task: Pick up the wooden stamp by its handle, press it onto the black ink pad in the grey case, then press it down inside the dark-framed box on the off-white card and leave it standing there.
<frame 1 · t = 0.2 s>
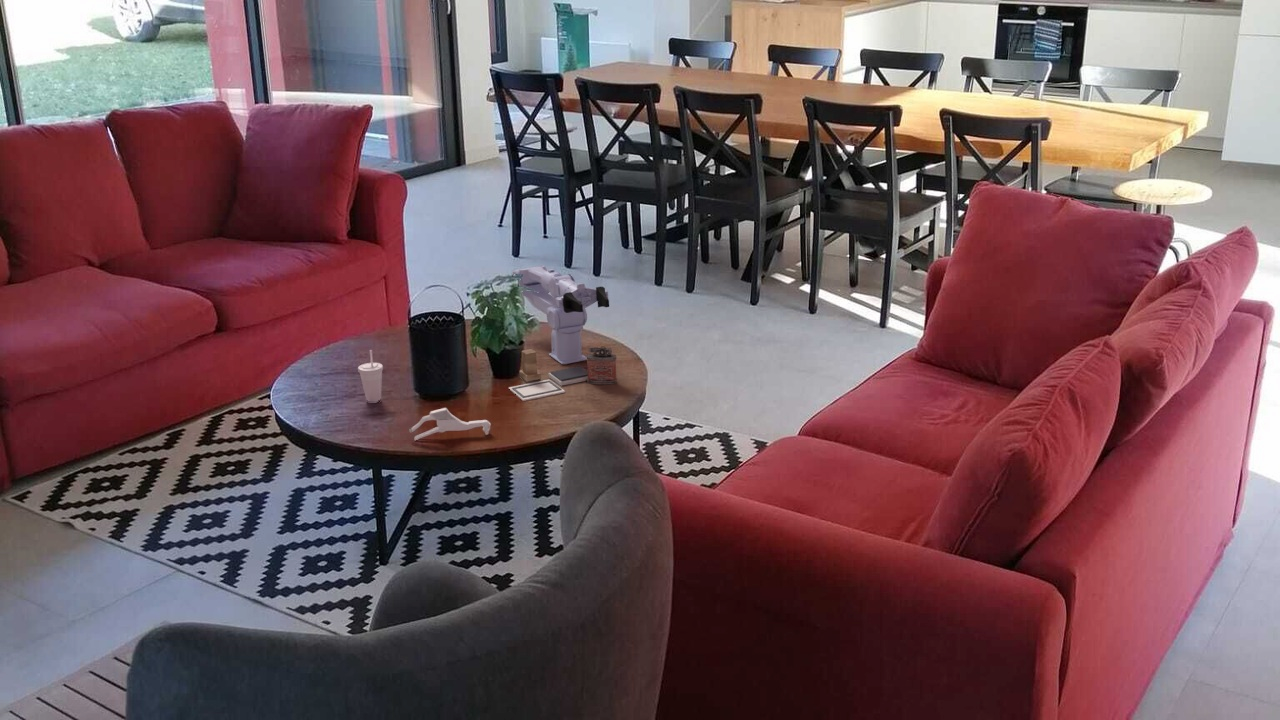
hand: (594, 305, 328), 21 cm above the table, tool horizontal, fingers open, 7 cm apart
stamp: (530, 379, 337), on the table
lighter: (602, 382, 334), on the table
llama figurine: (450, 438, 301), on the table
marked card: (536, 390, 329), on the table
smoothie: (373, 401, 324), on the table
ink pad: (571, 377, 337), on the table
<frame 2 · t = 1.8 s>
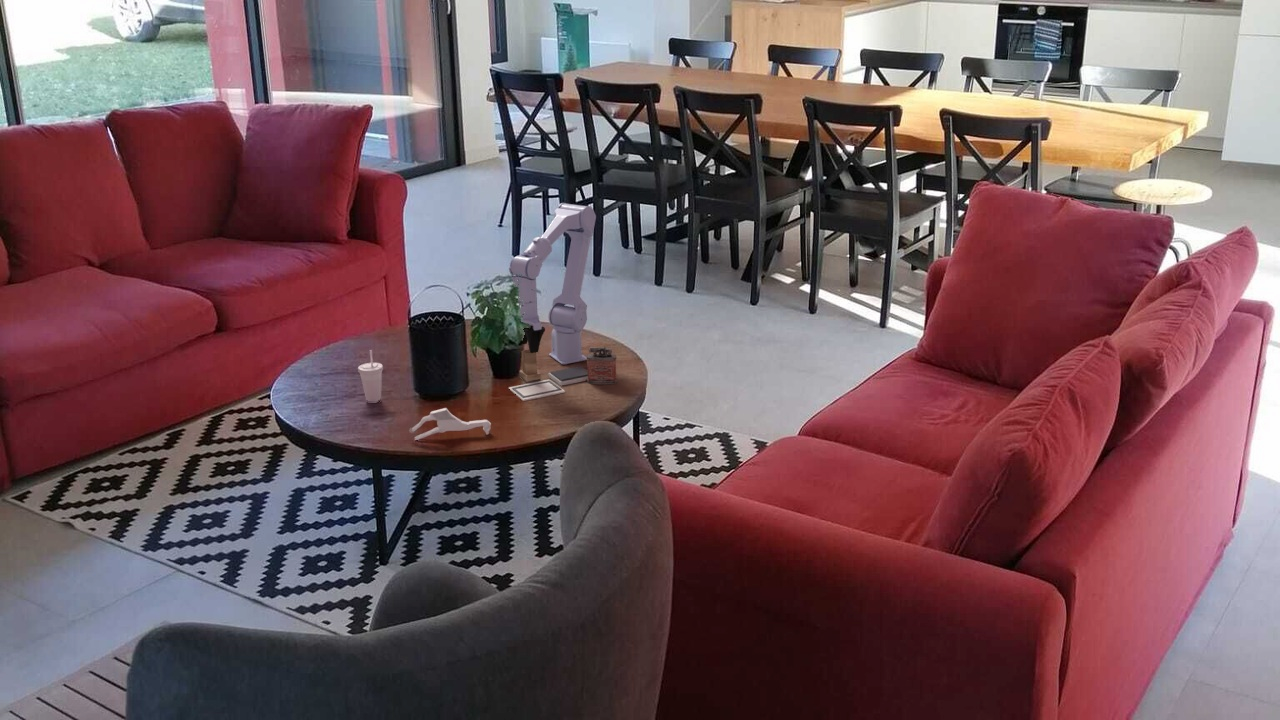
hand: (528, 348, 334), 9 cm above the table, tool pointing down, fingers open, 7 cm apart
nothing on the table moved.
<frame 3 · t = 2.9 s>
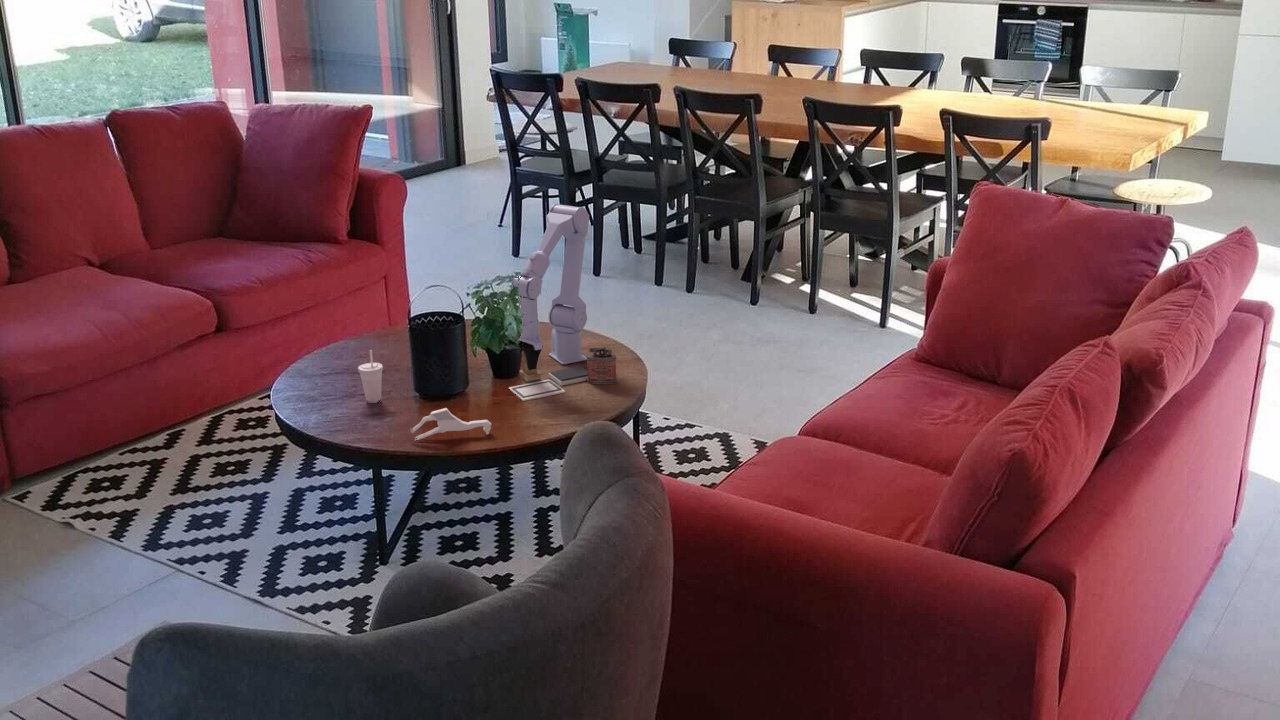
hand: (529, 367, 336), 3 cm above the table, tool pointing down, fingers closed on stamp, 3 cm apart
stamp: (530, 378, 337), on the table, touching gripper
everything else where it was.
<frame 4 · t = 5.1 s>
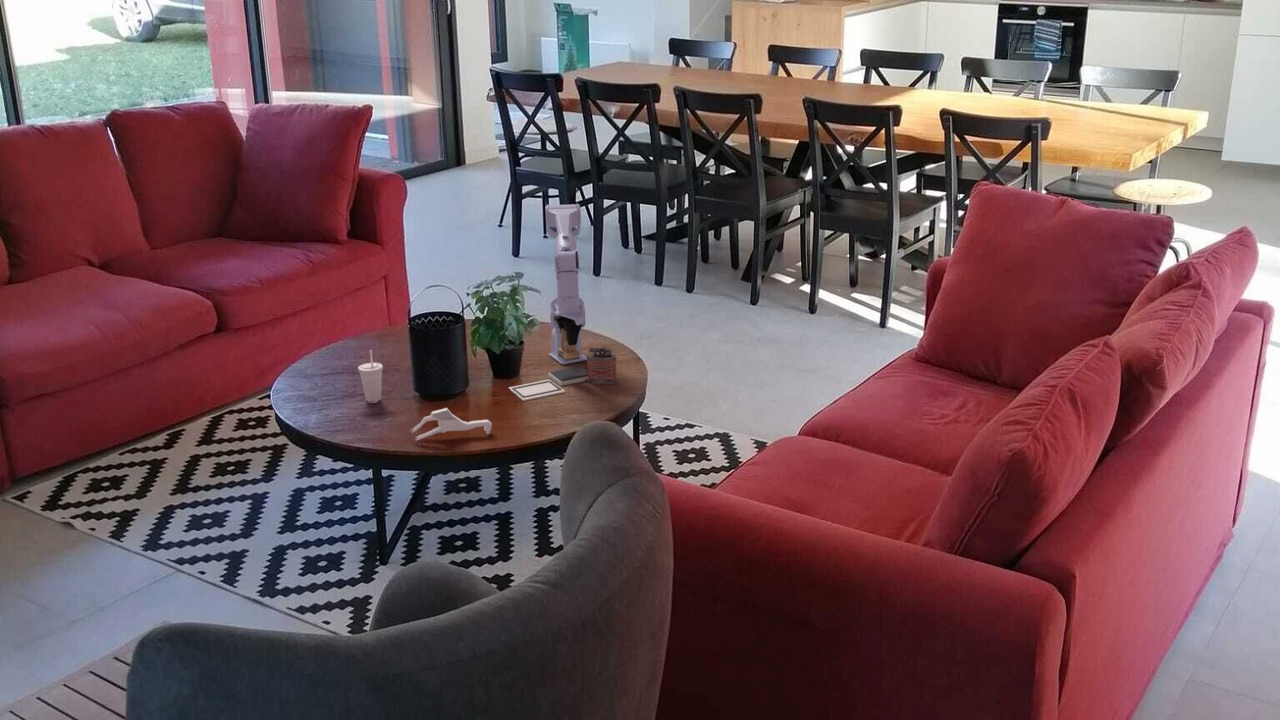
hand: (569, 342, 334), 10 cm above the table, tool pointing down, fingers closed on stamp, 3 cm apart
stamp: (568, 357, 335), point 6 cm above the table, touching gripper
everything else where it was.
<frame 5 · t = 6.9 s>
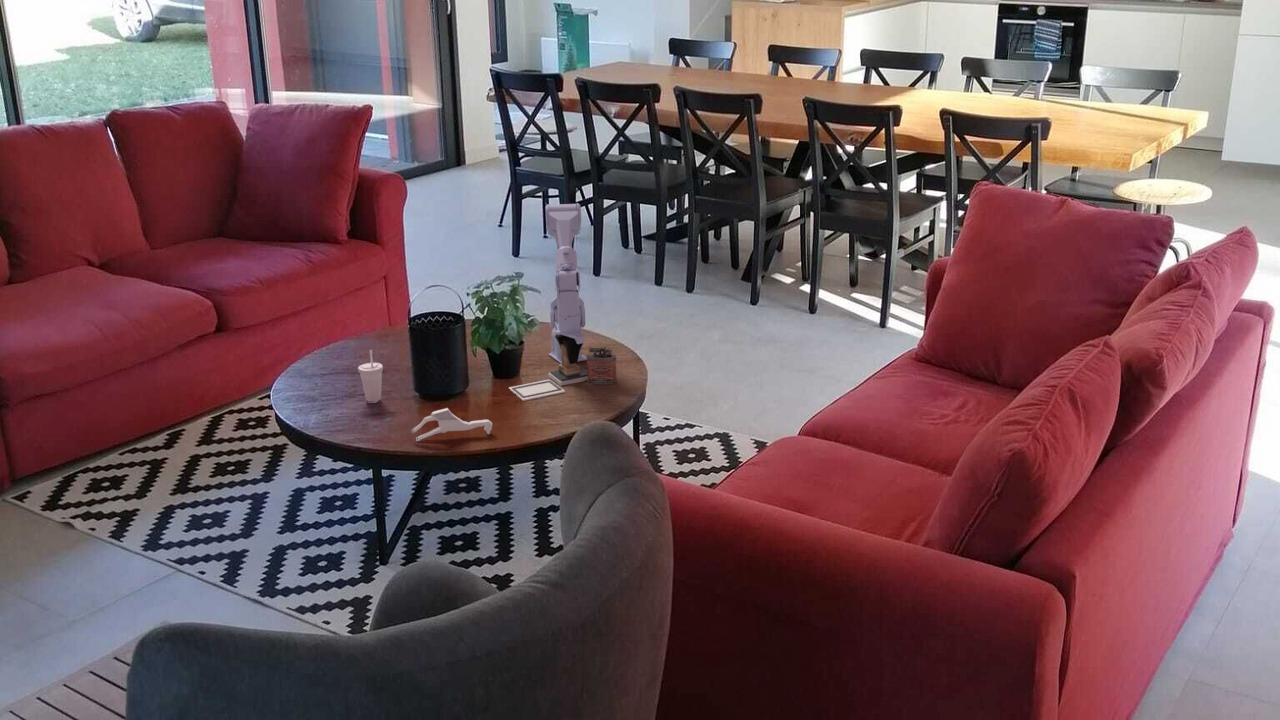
hand: (570, 361, 335), 5 cm above the table, tool pointing down, fingers closed on stamp, 3 cm apart
stamp: (569, 372, 336), point 2 cm above the table, touching gripper
everything else where it was.
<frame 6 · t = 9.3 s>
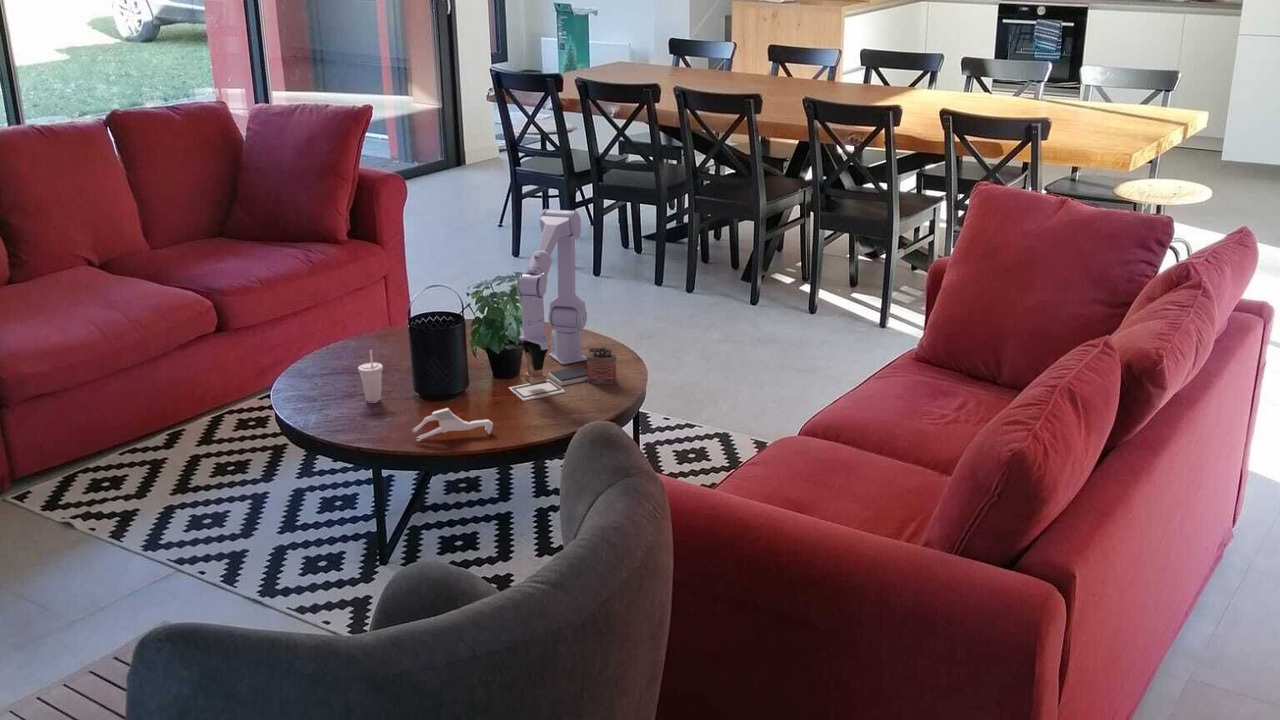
hand: (535, 367, 326), 7 cm above the table, tool pointing down, fingers closed on stamp, 3 cm apart
stamp: (535, 381, 328), point 3 cm above the table, touching gripper
everything else where it was.
when the fingers open (4 cm above the table, at t = 11.2 s): stamp stays where it is, resting on marked card.
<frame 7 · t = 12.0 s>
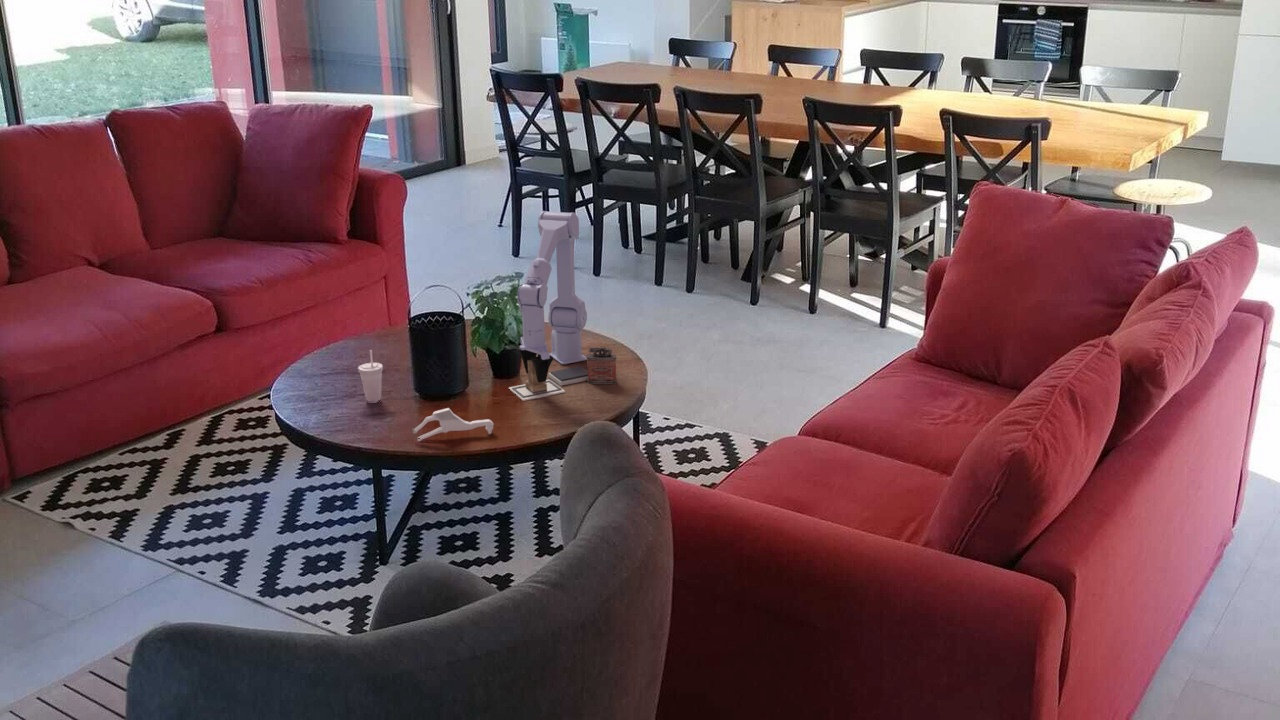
hand: (536, 377, 327), 4 cm above the table, tool pointing down, fingers open, 7 cm apart
stamp: (536, 389, 328), resting on marked card
everything else where it was.
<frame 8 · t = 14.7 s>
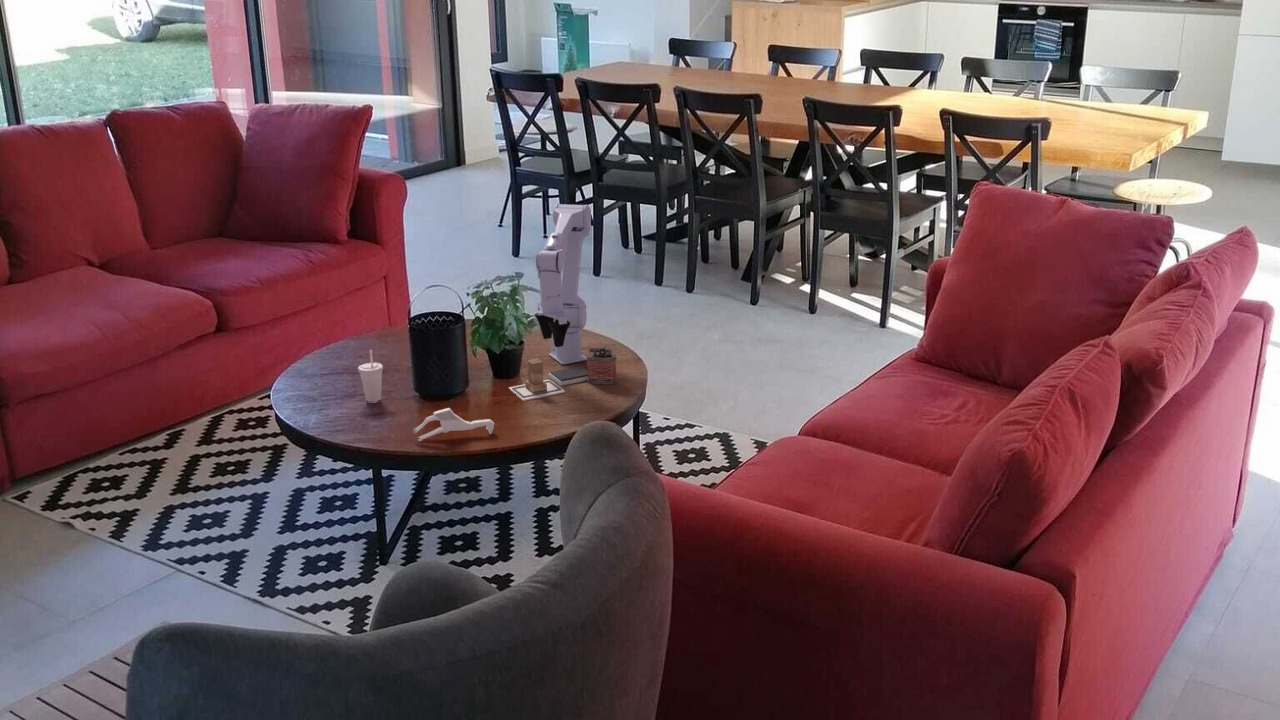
hand: (553, 342, 333), 10 cm above the table, tool pointing down, fingers open, 7 cm apart
nothing on the table moved.
at the end: stamp 0.1 cm off-centre on the marked card, point 0.4 cm above the marked card's base; stamp tilted 0°; the gripper is holding nothing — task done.
